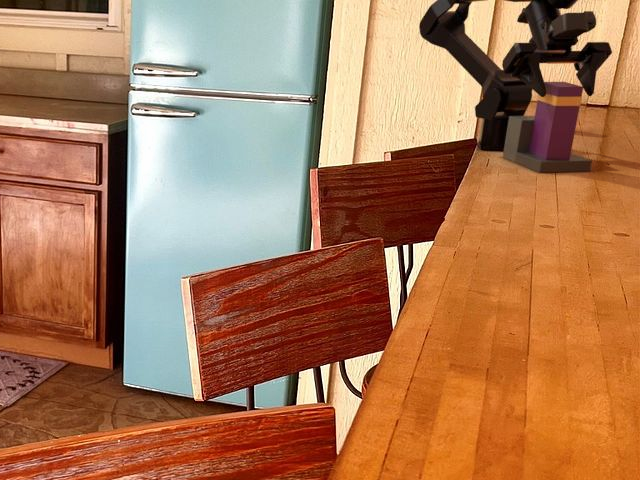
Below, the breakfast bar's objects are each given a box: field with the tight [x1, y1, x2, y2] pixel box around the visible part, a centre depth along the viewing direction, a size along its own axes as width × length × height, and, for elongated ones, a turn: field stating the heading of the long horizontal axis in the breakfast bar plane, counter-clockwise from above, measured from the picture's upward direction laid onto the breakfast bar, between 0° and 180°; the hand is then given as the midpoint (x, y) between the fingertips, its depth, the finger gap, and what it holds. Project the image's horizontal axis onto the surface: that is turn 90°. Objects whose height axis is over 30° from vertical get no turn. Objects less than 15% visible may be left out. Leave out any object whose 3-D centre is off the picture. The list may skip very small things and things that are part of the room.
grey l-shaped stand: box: [502, 115, 593, 174], centre depth 168 cm, size 14×10×8 cm
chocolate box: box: [529, 81, 584, 160], centre depth 164 cm, size 5×8×13 cm, turn 3°
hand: (567, 95), depth 161 cm, fingers open, 9 cm apart
